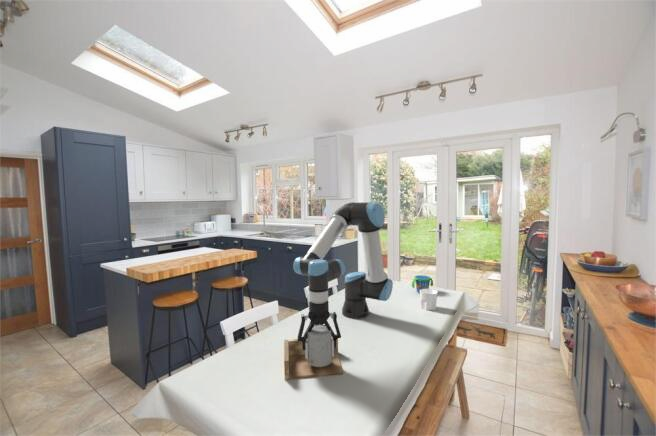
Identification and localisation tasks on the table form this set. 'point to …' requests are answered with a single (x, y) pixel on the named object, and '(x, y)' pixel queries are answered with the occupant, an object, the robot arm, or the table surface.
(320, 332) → the beer can
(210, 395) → the table surface
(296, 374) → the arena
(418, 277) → the snack cup
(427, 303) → the cup
